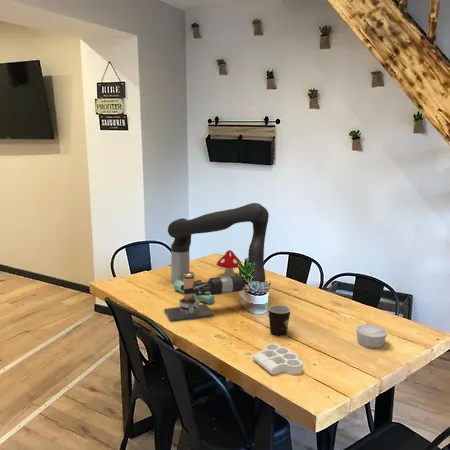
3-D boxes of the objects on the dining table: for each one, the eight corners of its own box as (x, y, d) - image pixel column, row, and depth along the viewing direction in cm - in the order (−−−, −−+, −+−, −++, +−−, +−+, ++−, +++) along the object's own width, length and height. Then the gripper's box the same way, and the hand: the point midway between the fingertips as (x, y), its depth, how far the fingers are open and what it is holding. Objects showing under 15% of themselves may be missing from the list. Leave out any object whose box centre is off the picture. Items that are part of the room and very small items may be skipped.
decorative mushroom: (210, 276, 257) (210, 249, 253) (229, 271, 266) (229, 245, 263) (228, 283, 246) (229, 255, 243) (247, 277, 256) (248, 250, 252)
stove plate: (164, 311, 208) (164, 298, 207) (205, 306, 215) (205, 293, 214) (170, 322, 197) (170, 308, 196) (214, 316, 204) (214, 303, 202)
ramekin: (381, 352, 174) (382, 339, 173) (351, 345, 180) (352, 331, 179) (389, 341, 183) (390, 328, 182) (360, 334, 189) (361, 321, 188)
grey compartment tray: (247, 357, 169) (281, 349, 176) (276, 381, 154) (312, 371, 161) (247, 348, 169) (281, 340, 176) (276, 372, 153) (312, 361, 160)
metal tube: (182, 307, 207) (182, 272, 204) (192, 306, 209) (192, 271, 205) (185, 311, 203) (184, 275, 199) (195, 310, 204) (195, 274, 201)
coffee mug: (275, 339, 183) (276, 314, 181) (263, 330, 191) (264, 307, 189) (300, 333, 188) (301, 309, 186) (287, 325, 196) (288, 302, 194)
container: (215, 291, 217) (180, 277, 235) (206, 298, 214) (171, 284, 231) (218, 301, 220) (184, 286, 237) (209, 309, 217) (175, 293, 234)
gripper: (215, 272, 214) (178, 276, 209) (226, 282, 201) (186, 286, 195) (215, 288, 216) (178, 292, 210) (226, 299, 203) (187, 304, 197)
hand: (182, 289), depth 203 cm, fingers closed on metal tube, 4 cm apart
